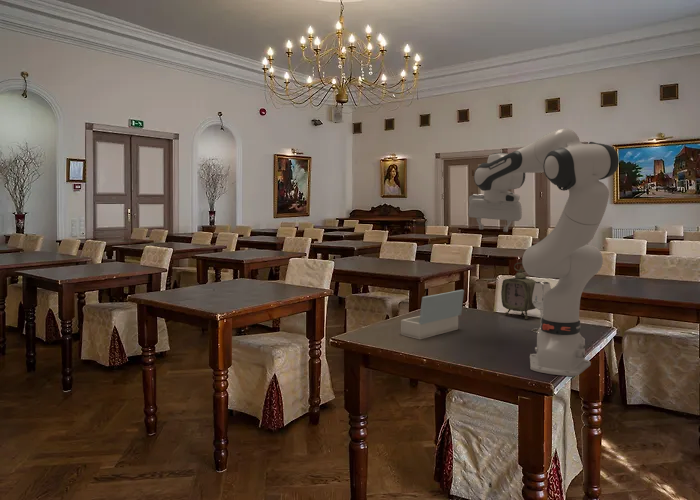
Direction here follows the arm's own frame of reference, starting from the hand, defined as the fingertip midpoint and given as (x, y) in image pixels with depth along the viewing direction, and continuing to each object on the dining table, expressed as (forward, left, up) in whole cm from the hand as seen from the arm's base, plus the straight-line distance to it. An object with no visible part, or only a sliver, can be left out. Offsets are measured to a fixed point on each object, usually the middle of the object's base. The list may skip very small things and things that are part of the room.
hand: (493, 230), depth 209 cm
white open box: (-8, +23, -42) cm, 48 cm away
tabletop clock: (+37, -4, -42) cm, 56 cm away
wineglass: (+13, -17, -42) cm, 47 cm away
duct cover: (-9, +18, -30) cm, 36 cm away
